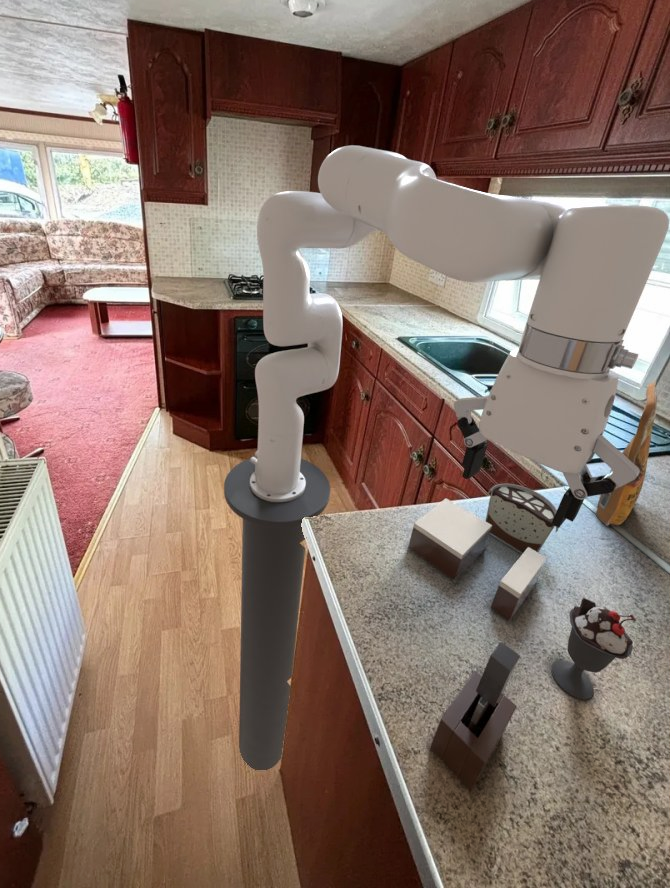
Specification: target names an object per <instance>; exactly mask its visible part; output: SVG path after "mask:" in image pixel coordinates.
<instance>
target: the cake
mask: <svg viewBox="0 0 670 888" xmlns="http://www.w3.org/2000/svg"><path fill="white" fill-rule="evenodd" d="M491 528H492V525H491V524H489V523H487V522H486V520H484V519H482V518H481V517H479V516H477V515H475V514H474V513H472V512H471V511H469V510H467V509H465V508H464V507H462V506H460V505H458V504H457V503H455V502H453V501H451V500H450V499H448V498H444V499H443V500H441V501H440V502H439V503H438V504H437V505H435V506H434V507H433V508H431V509H430V510H429V511H428V512H426V513H425V514H424V515H422V516H421V517H420V518H418V519H417V520H416V521H414V523H413V527H412V530H411V534H410V538H409V543H408V546H407V549H409V550H410V551H412V552H413V553H415V554H416V555H417V556H419V557H420V558H422V559H423V560H424V561H426V562H427V563H428V564H430V565H431V566H433V568H436V570H438V571H439V572H440V573H443V575H444V576H446V577H448V578H449V579H451V580H452V581H453V582H455V581H456V580H457V579H458V578H459V577H460V576H461V575H462V574H463V573H464V572H465V571H466V569H467V568H468V567H469V566H470V565H471V564H472V563H473V562H474V561H475V560H476V559H477V558H478V556H480V555H481V553H483V551H484V550H485V547H486V545H487V543H488V540H489V539H488V538H489V536H490V534H489V533H490V530H491Z"/></svg>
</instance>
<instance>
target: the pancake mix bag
mask: <svg viewBox="0 0 670 888" xmlns="http://www.w3.org/2000/svg"><path fill="white" fill-rule="evenodd" d="M657 382H658V380H657V381H653V382H650V383H649V384H648V385H647V387H646V391H645V397H646V403H645V406H644V407H643V410H642V414H641V417H640V418H639V422H638V426H637V429H636V433H635V434H634V436H633V437H632V438H631V440H630V441H629V443H628V444H627V446H626V447H625V448H624V449H623V450H622V452H621V453H622V454H624V455H625V456H626V457H627V458H628V459H629V460H630V461H631V462H632V463H634V464H635V465H636V466H637V467H638V468H639V470H640V472H639V474H638V476H637V478H636V479H635V480H633V481H631V482H629V483H627V484H625V485H623V486H621V487H619V488H617V489H615V490H614V491H613V492H611V493H606V494H601V495H600V496H599V499H598V502H597V505H596V506H597V507H596V511H595V515H596V517H597V519H598V520H600V522H601V523H602V524H604V525H605V526H606V527H609V526H610V525H613V526H620V525H622V524H623V523H624V522H625V521H626V520H627V518H628V516H629V515H630V513H632V510H633V508H634V506H635V505H636V502H637V501H638V498H639V496H640V493H641V492H642V488H643V486H644V482H645V478H646V473H647V467H648V460H649V456H650V455H649V454H650V447H651V441H652V433H653V431H652V430H653V426H654V423H655V419H656V416H657V405H658V395H657V392H656V384H657ZM610 469H611V468H610ZM611 472H612V469H611V470H610V471H609V473H611Z"/></svg>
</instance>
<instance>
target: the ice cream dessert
mask: <svg viewBox="0 0 670 888" xmlns="http://www.w3.org/2000/svg"><path fill="white" fill-rule="evenodd" d="M486 494H487V495H490V496H489V502H488V506H487V512H486V515H485V521H486V522H487V523H489V524H491V525H492V528H491V530H490V533H489V535H491V536H492V537H494V538H495V539H497V540H498V541H500V542H501V543H503V544H505V545H507V546H508V547H509V548H510V549H511V548H512V549H513V550H515V551H516V552H517V553H519V554H521V555H522V554H523V553H524V551H525V550H526V549H527V548H528V547H529V548H531V549H533V550H535V551H536V552H538V553H540V550H541V549H542V548H543V546H544V544H545V543H546V541H547V539H548V538H549V536H550V534H551V533H552V532H553V530H554V528H555V531H554V532H555V533H558V530H559V528H558V527H556V526H554V525H553V523H552V521H553V519H554V516H555V514H556V512H557V509H558V508H557V507H556V506H555V505H554V503H553V502H551V500H549V498H547V497H545V496H544V495H542V494H541V493H539V492H537V491H535V490H533V489H531V488H528V487H525V486H522V485H519V484H514V483H499V484H495V485H493V486H492V487H491V488H490V489H489V490H488V492H487V493H486Z"/></svg>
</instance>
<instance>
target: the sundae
mask: <svg viewBox="0 0 670 888" xmlns="http://www.w3.org/2000/svg"><path fill="white" fill-rule="evenodd" d="M568 614H569V622H570V626H571V630H570V633H569V637H568V641H567V653H568V656H569V658H570V659H571V660H572V662H573V663H572V662H570V661H567V660H565V659H564V660H563V659H557V660H555V661H554V662H553V663H552V664H551V668H550V670H551V671H550V672H551V675H552V677H553V679H554V681H555V682H556V684H557V685H558V686H559V687H560V688H561V689H562V690H563V691H564V692H566V693H567V694H568V695H570V696H571V697H574V698H576V699H580V700H589V699H591V698H592V697H593V695H594V691H595V690H594V684H593V683H592V680H591V679H590V677H589V676H588V675H587V674H586V672H590V673H594V674H595V673H596V674H597V673H600V672H601V671H603V670H604V669H606V668H607V667H608V666H609V665H610V664H611V663H612V662H613V661H614V660H615V659H619V660H625V659H627V658H629V657H630V656H631V654H632V652H633V648H634V647H633V644H634V641H633V640H632V639H631V637H630V636H629V634H628V633H627V632H626V630H625V627H624V626H623V625H622V624H623V623H624V622H626V621H633V622H636V621H637V619H636V617H634V615H632V614H630V615H621V614H619V613H618V612H617V611H615V610H609V609H608V608H606V607H598V606H597V604H596V602H594V601H592V600H591V599H587V598H585V597H582V599H581V601H580V606H577V605H575V606H574V607H573V608H572V609H570V612H569V613H568ZM626 617H627V618H626ZM621 618H624V619H623V620H621ZM625 618H626V619H625ZM620 620H621V621H620ZM584 671H585V672H584Z"/></svg>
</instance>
